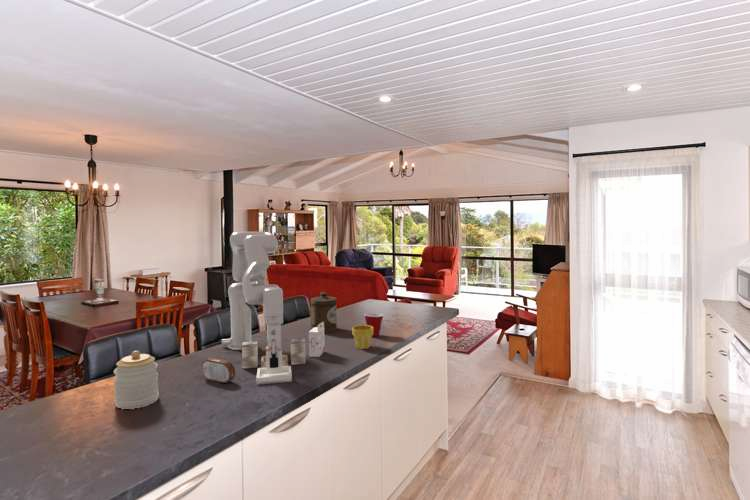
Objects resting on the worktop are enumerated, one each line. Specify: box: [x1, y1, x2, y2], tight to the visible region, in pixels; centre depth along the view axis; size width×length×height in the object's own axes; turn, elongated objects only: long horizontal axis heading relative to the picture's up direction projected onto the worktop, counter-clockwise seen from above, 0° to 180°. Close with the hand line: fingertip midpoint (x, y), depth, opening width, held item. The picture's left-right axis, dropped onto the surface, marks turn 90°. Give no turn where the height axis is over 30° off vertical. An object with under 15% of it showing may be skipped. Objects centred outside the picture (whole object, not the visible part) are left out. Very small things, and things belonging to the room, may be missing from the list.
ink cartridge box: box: [308, 322, 326, 358], centre depth 192 cm, size 9×5×15 cm, turn 168°
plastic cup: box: [363, 312, 385, 338], centre depth 224 cm, size 11×11×12 cm
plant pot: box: [351, 324, 373, 350], centre depth 203 cm, size 10×10×10 cm
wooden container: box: [309, 291, 338, 334], centre depth 236 cm, size 15×15×22 cm
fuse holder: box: [241, 337, 307, 369], centre depth 178 cm, size 26×9×10 cm, turn 103°
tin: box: [201, 356, 236, 384], centre depth 159 cm, size 15×3×8 cm, turn 65°
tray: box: [255, 365, 293, 385], centre depth 162 cm, size 13×11×2 cm
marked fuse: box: [265, 344, 283, 375], centre depth 162 cm, size 6×4×10 cm, turn 103°
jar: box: [113, 350, 160, 410], centre depth 140 cm, size 13×13×18 cm
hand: (274, 365), depth 162 cm, fingers closed on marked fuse, 3 cm apart
